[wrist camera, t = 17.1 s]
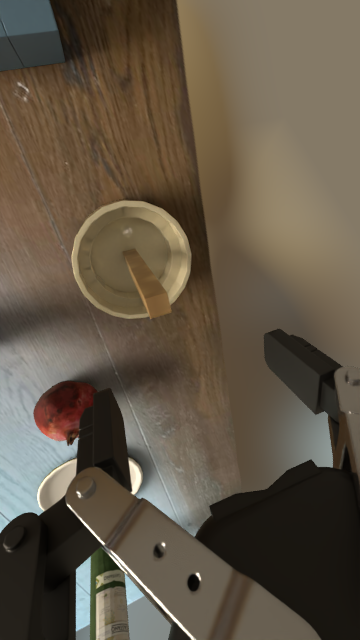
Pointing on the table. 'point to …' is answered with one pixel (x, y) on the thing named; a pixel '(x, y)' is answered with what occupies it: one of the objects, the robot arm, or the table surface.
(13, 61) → the holder
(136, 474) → the plate
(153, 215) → the bowl
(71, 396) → the fruit
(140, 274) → the stick
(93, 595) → the wine bottle
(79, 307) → the table surface
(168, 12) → the table surface
